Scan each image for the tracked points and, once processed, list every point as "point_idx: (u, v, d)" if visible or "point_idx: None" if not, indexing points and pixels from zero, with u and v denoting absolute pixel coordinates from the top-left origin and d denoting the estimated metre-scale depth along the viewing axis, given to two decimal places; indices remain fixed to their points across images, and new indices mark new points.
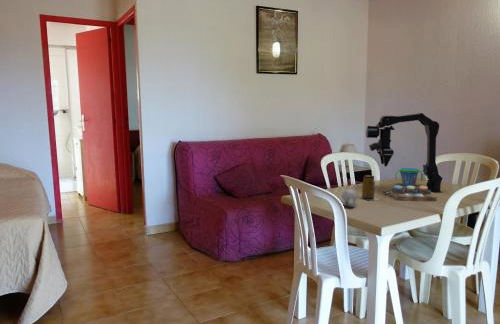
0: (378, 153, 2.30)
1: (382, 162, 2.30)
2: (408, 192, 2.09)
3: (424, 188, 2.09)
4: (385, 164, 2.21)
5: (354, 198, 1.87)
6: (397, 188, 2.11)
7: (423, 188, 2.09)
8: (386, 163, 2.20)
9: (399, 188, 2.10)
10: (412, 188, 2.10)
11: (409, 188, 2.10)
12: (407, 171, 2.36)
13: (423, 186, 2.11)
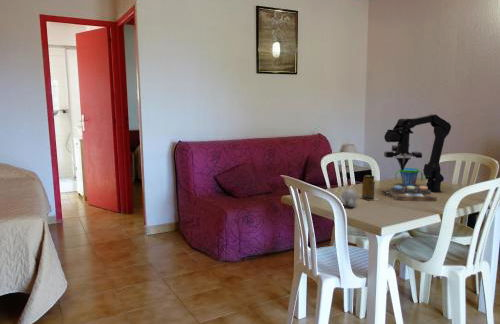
0: (402, 158, 2.19)
1: None
2: (408, 192, 2.09)
3: (424, 188, 2.09)
4: None
5: (354, 198, 1.87)
6: (397, 188, 2.11)
7: (423, 188, 2.09)
8: (400, 167, 2.17)
9: (399, 188, 2.10)
10: (412, 188, 2.10)
11: (409, 188, 2.10)
12: (407, 171, 2.36)
13: (423, 186, 2.11)
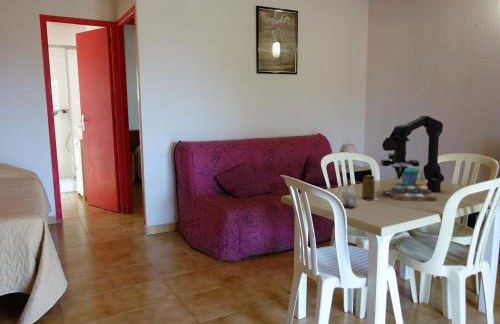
0: (399, 166, 2.13)
1: None
2: (408, 192, 2.09)
3: (424, 188, 2.09)
4: (397, 176, 2.12)
5: (354, 198, 1.87)
6: (397, 188, 2.11)
7: (423, 188, 2.09)
8: (397, 175, 2.11)
9: (399, 188, 2.10)
10: (412, 188, 2.10)
11: (409, 188, 2.10)
12: (407, 171, 2.36)
13: (423, 186, 2.11)
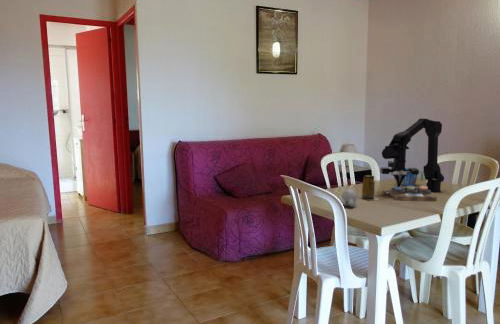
0: (399, 174, 2.13)
1: None
2: (408, 192, 2.09)
3: (424, 188, 2.09)
4: (397, 184, 2.12)
5: (354, 198, 1.87)
6: (397, 189, 2.11)
7: (423, 188, 2.09)
8: (396, 183, 2.12)
9: (399, 189, 2.10)
10: (412, 188, 2.10)
11: (409, 188, 2.10)
12: None
13: (423, 186, 2.11)
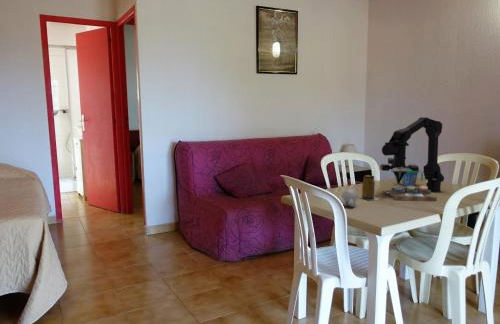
0: (399, 171, 2.13)
1: None
2: (408, 192, 2.09)
3: (424, 188, 2.09)
4: None
5: (354, 198, 1.87)
6: None
7: (423, 188, 2.09)
8: (396, 180, 2.11)
9: None
10: (412, 188, 2.10)
11: (409, 188, 2.10)
12: (407, 171, 2.36)
13: (423, 186, 2.11)
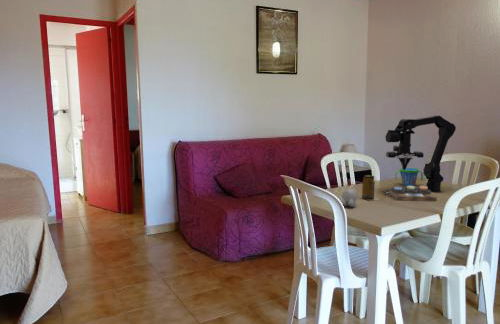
0: (404, 158, 2.22)
1: None
2: (408, 192, 2.09)
3: (424, 188, 2.09)
4: (402, 167, 2.21)
5: (354, 198, 1.87)
6: None
7: (423, 188, 2.09)
8: (402, 166, 2.20)
9: None
10: (412, 188, 2.10)
11: (409, 188, 2.10)
12: (407, 171, 2.36)
13: (423, 186, 2.11)
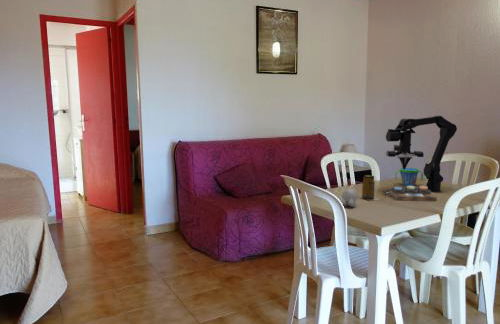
0: (404, 157, 2.23)
1: None
2: (408, 192, 2.09)
3: (424, 188, 2.09)
4: (402, 167, 2.21)
5: (354, 198, 1.87)
6: None
7: (423, 188, 2.09)
8: (402, 166, 2.21)
9: None
10: (412, 188, 2.10)
11: (409, 188, 2.10)
12: (407, 171, 2.36)
13: (423, 186, 2.11)
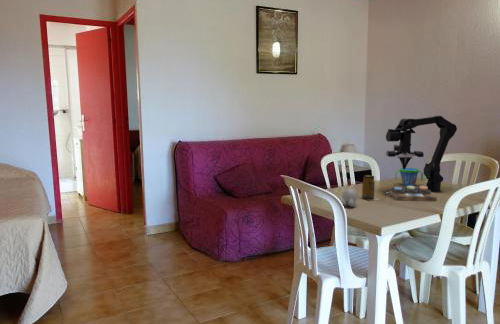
0: (404, 157, 2.23)
1: None
2: (408, 192, 2.09)
3: (424, 188, 2.09)
4: (402, 167, 2.21)
5: (354, 198, 1.88)
6: None
7: (423, 188, 2.09)
8: (402, 166, 2.21)
9: None
10: (412, 188, 2.10)
11: (409, 188, 2.10)
12: (407, 171, 2.36)
13: (423, 186, 2.11)
